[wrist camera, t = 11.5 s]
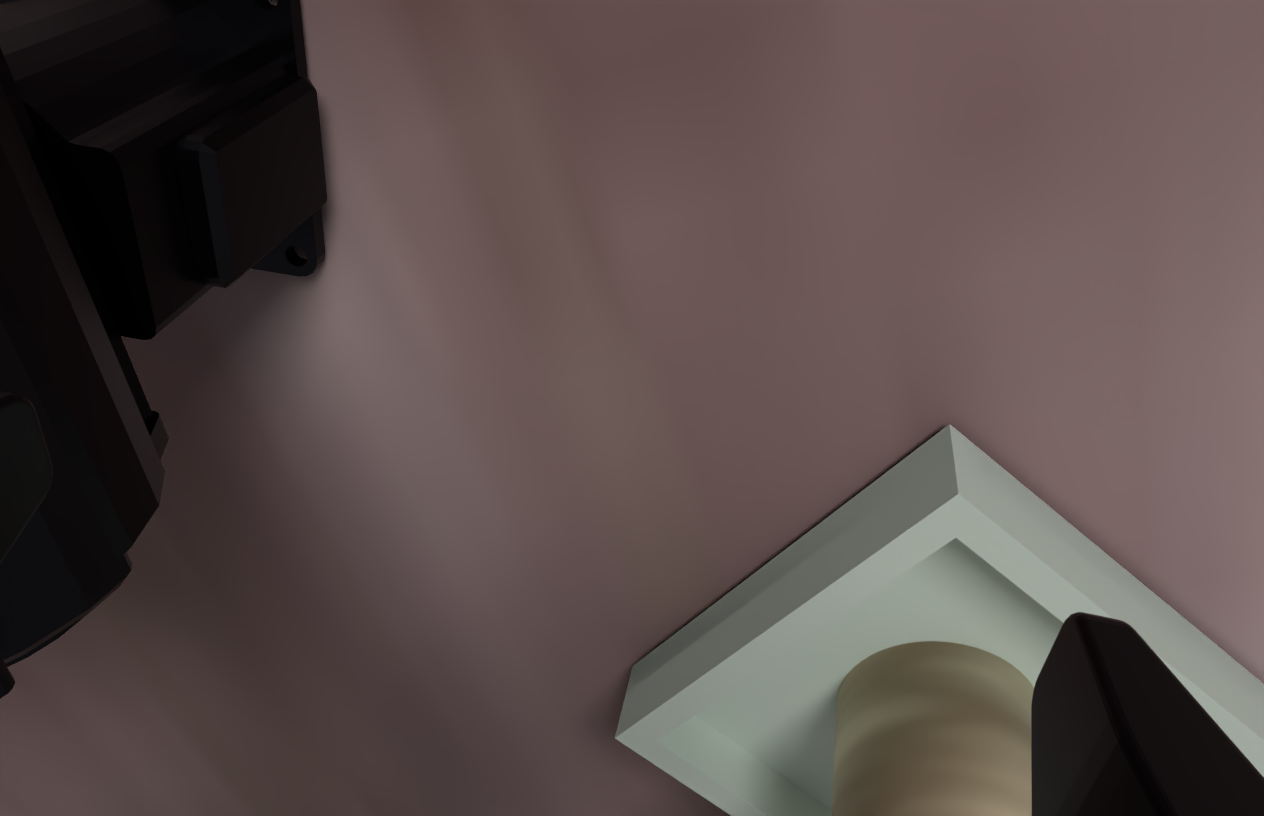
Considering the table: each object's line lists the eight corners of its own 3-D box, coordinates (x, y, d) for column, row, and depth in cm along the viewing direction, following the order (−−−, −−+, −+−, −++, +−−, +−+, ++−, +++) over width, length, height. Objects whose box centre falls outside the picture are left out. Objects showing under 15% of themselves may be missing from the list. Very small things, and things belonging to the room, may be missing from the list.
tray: (632, 666, 28) (614, 738, 26) (949, 424, 22) (958, 493, 20) (926, 868, 31) (931, 948, 29) (1285, 702, 25) (1324, 789, 23)
